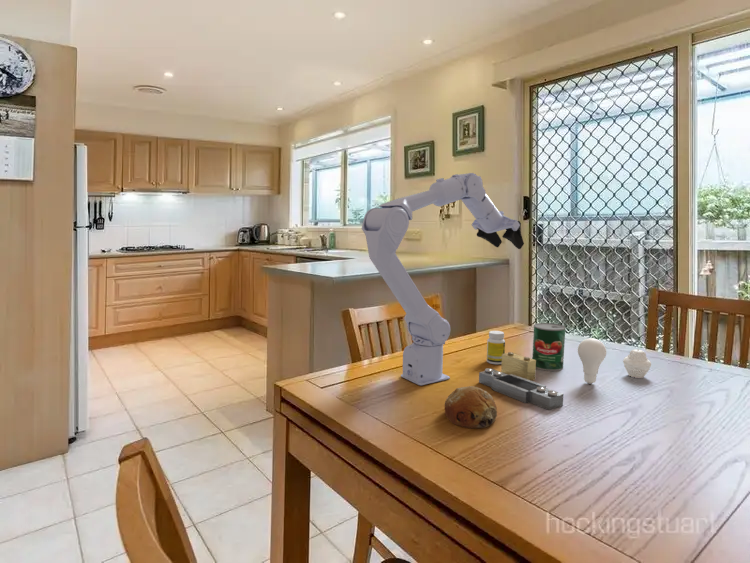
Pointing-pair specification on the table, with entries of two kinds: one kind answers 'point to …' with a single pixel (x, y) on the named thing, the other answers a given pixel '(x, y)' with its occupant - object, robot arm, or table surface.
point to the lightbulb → (591, 357)
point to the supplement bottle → (495, 347)
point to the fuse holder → (521, 389)
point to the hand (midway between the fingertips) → (510, 245)
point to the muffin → (637, 363)
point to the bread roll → (470, 407)
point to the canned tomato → (548, 346)
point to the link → (518, 365)
